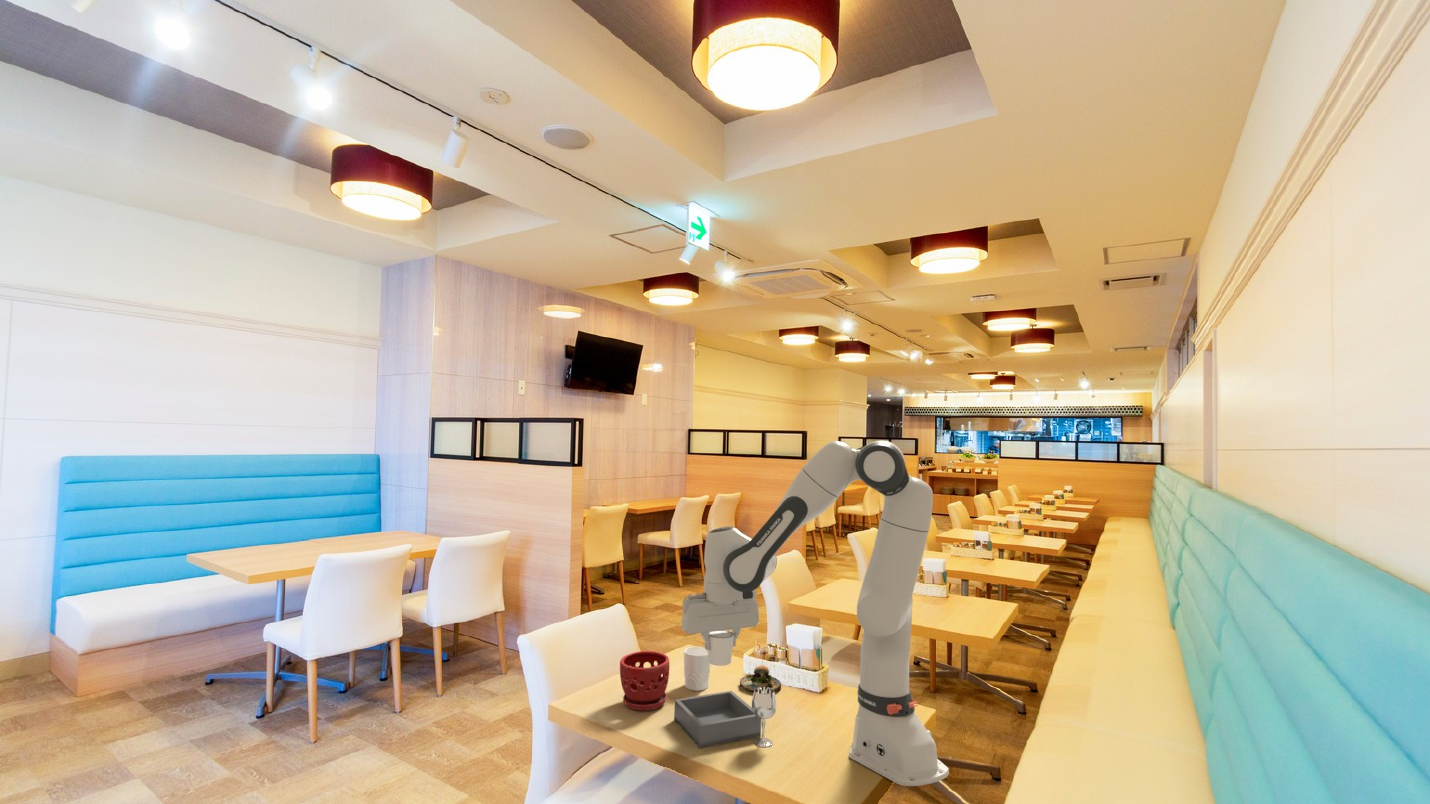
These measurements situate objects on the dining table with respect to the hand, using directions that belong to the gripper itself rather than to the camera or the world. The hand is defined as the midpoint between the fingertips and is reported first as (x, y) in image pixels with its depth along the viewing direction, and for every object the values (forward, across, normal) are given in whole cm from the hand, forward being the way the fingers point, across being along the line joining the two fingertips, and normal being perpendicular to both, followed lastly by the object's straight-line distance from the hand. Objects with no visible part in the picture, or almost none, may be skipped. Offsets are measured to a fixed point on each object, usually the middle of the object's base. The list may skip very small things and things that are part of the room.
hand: (720, 647), depth 163 cm
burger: (+19, +21, +18) cm, 34 cm away
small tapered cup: (+4, 0, 0) cm, 4 cm away
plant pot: (+19, -14, +18) cm, 30 cm away
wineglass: (+19, +6, -13) cm, 24 cm away
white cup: (+19, +4, +24) cm, 31 cm away
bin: (+19, -2, -2) cm, 19 cm away
